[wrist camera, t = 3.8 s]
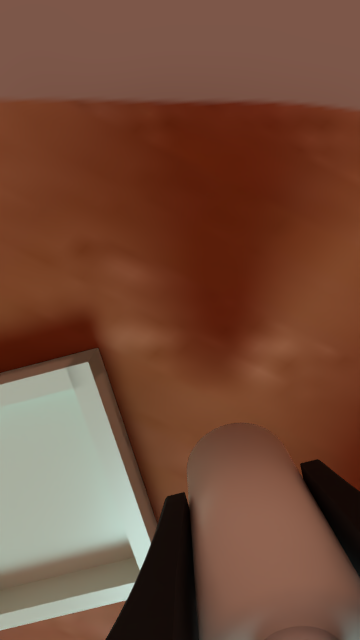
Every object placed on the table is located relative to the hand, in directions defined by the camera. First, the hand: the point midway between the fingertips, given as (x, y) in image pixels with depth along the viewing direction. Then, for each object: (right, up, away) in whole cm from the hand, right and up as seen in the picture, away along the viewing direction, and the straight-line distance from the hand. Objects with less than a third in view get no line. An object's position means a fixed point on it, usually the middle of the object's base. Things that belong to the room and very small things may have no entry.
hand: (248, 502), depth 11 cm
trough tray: (-10, -3, +6) cm, 12 cm away
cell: (0, 0, +2) cm, 2 cm away
